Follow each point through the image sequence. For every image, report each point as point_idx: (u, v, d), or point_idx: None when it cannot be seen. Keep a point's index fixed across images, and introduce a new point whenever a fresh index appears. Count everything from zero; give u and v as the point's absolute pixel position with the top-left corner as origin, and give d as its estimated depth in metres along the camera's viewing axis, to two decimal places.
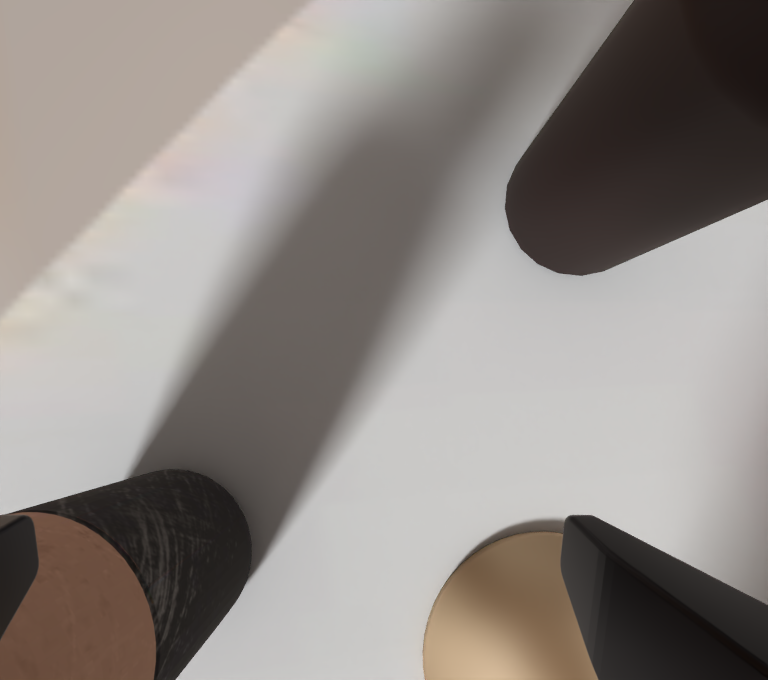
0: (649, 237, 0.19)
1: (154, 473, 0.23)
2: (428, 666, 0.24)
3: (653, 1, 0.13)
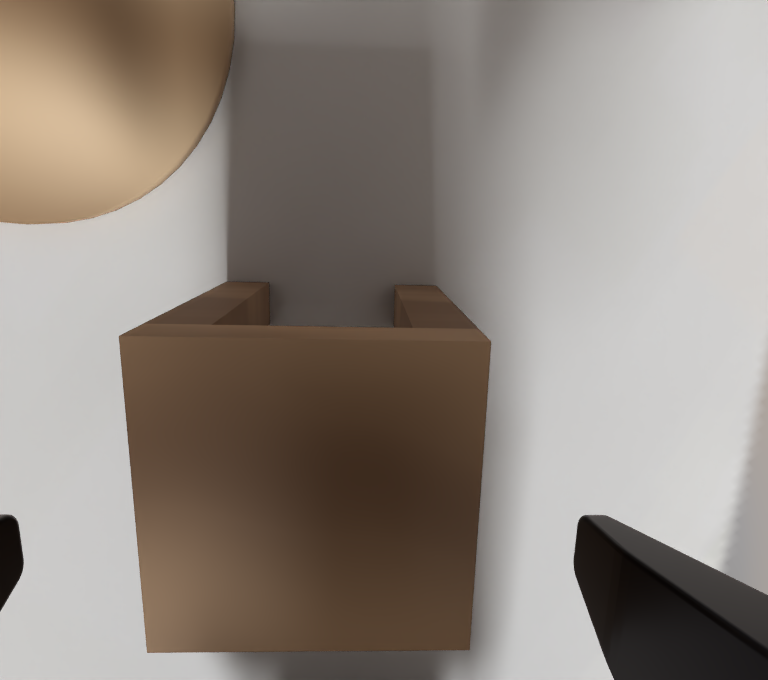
0: None
1: None
2: None
3: None
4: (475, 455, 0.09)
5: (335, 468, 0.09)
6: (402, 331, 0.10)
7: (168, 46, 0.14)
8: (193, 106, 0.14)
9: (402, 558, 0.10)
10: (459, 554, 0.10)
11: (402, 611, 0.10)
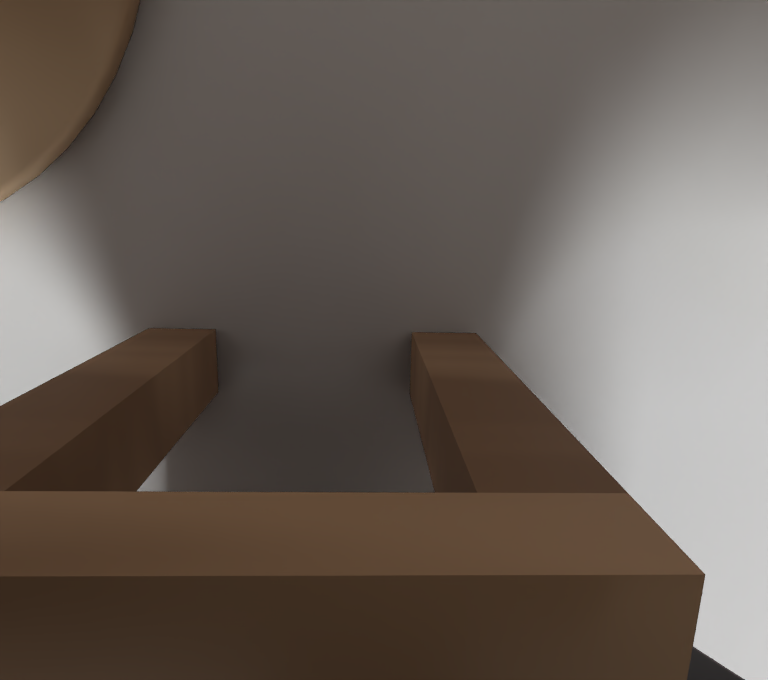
0: None
1: None
2: None
3: None
4: None
5: None
6: (457, 514, 0.04)
7: None
8: (79, 44, 0.08)
9: None
10: None
11: None
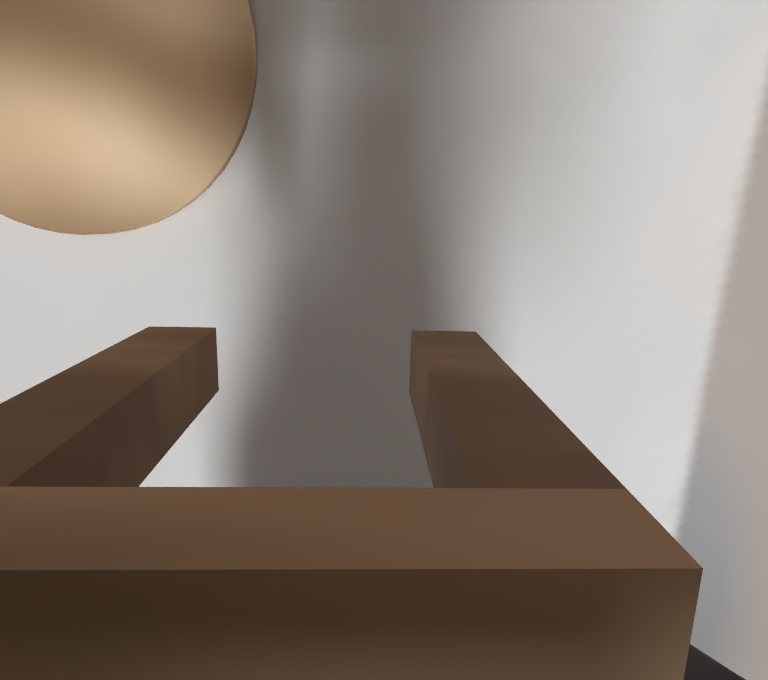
0: None
1: None
2: None
3: None
4: None
5: None
6: (458, 510, 0.04)
7: (202, 88, 0.16)
8: (222, 137, 0.17)
9: None
10: None
11: None
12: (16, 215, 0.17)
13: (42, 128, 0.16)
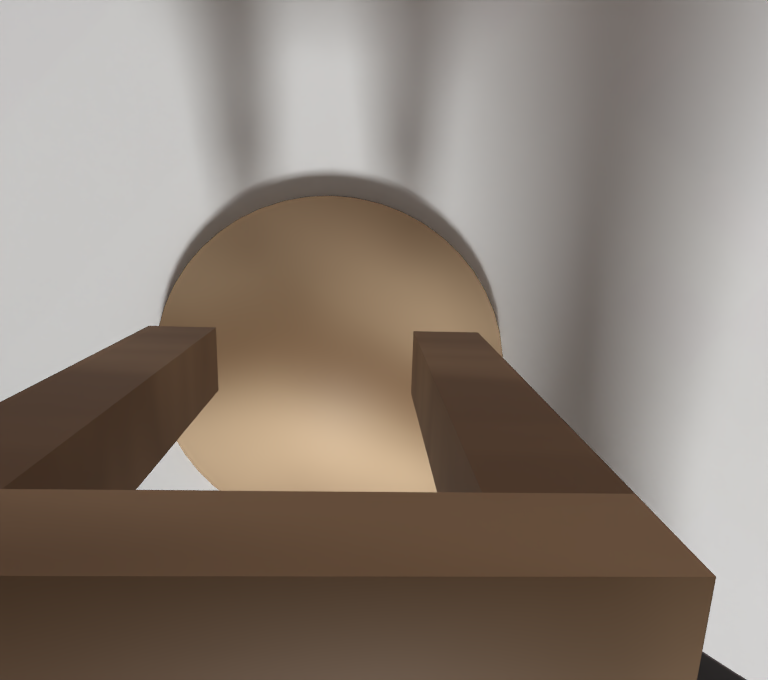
0: None
1: None
2: (210, 475, 0.18)
3: None
4: None
5: None
6: (464, 514, 0.04)
7: None
8: None
9: None
10: None
11: None
12: None
13: (303, 443, 0.18)
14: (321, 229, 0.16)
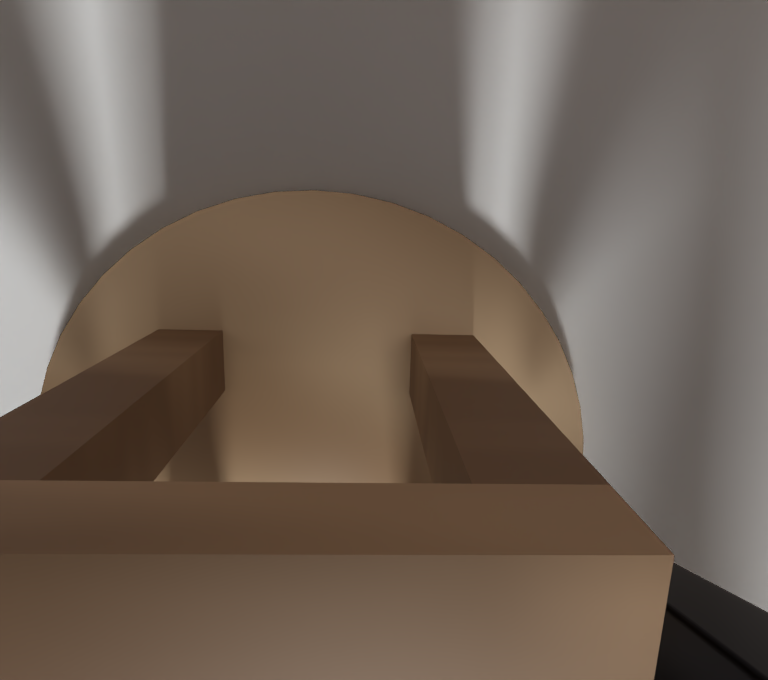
0: None
1: None
2: None
3: None
4: None
5: None
6: (454, 502, 0.04)
7: None
8: None
9: None
10: None
11: None
12: None
13: None
14: (297, 245, 0.10)
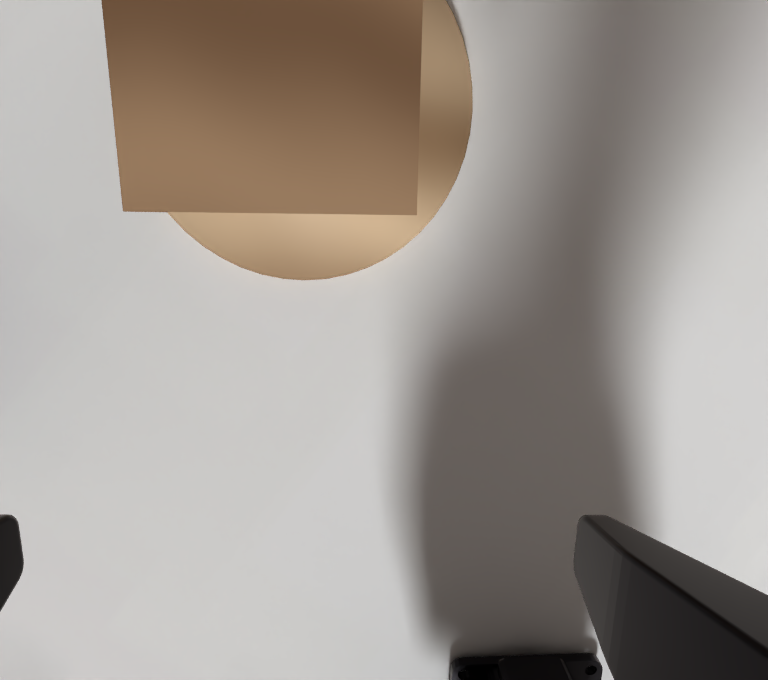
0: None
1: None
2: (181, 219, 0.18)
3: None
4: (415, 0, 0.10)
5: (289, 12, 0.10)
6: None
7: (423, 145, 0.18)
8: (438, 189, 0.18)
9: (352, 112, 0.11)
10: (404, 110, 0.11)
11: (354, 171, 0.11)
12: (245, 263, 0.18)
13: None
14: None
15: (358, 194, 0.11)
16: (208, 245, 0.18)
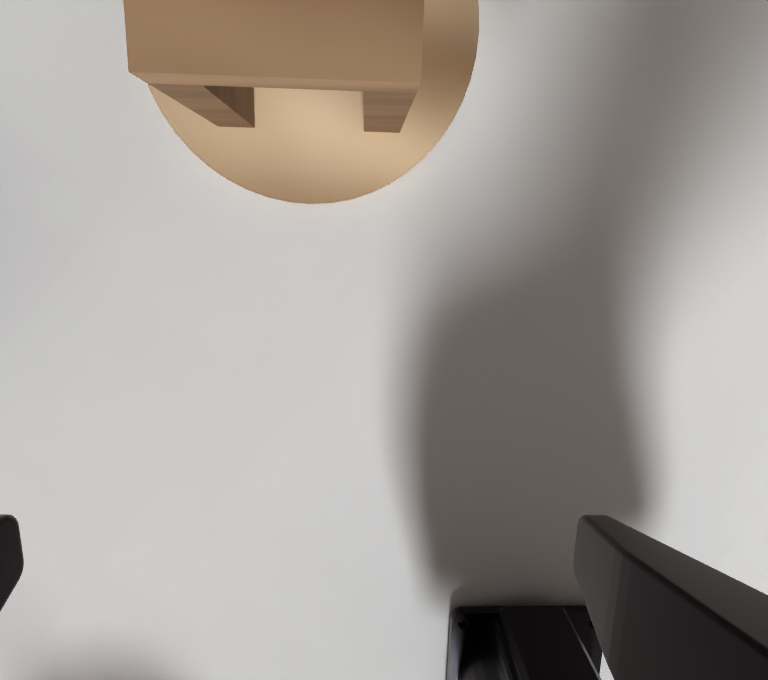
0: None
1: None
2: (188, 138, 0.18)
3: None
4: None
5: None
6: None
7: (429, 67, 0.18)
8: (444, 112, 0.18)
9: None
10: None
11: (359, 35, 0.11)
12: (250, 185, 0.18)
13: (281, 104, 0.18)
14: None
15: (363, 59, 0.11)
16: (213, 165, 0.18)
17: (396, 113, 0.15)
